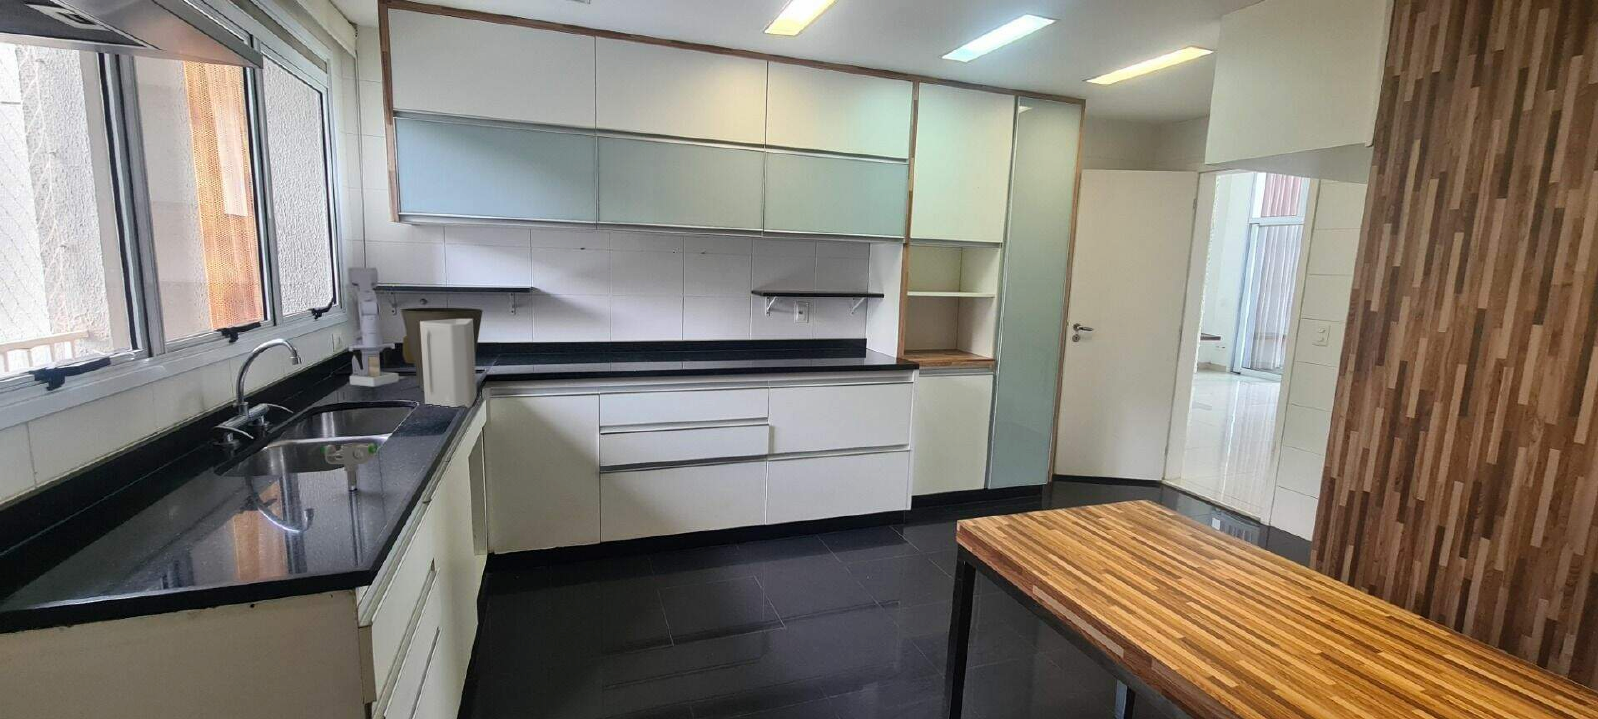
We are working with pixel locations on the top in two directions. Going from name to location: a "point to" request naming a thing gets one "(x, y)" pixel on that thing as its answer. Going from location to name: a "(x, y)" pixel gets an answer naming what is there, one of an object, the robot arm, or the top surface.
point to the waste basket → (417, 315)
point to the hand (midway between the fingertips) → (373, 368)
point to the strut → (373, 366)
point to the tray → (374, 379)
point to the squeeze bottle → (407, 351)
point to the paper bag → (448, 362)
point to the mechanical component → (350, 457)
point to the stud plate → (401, 377)
